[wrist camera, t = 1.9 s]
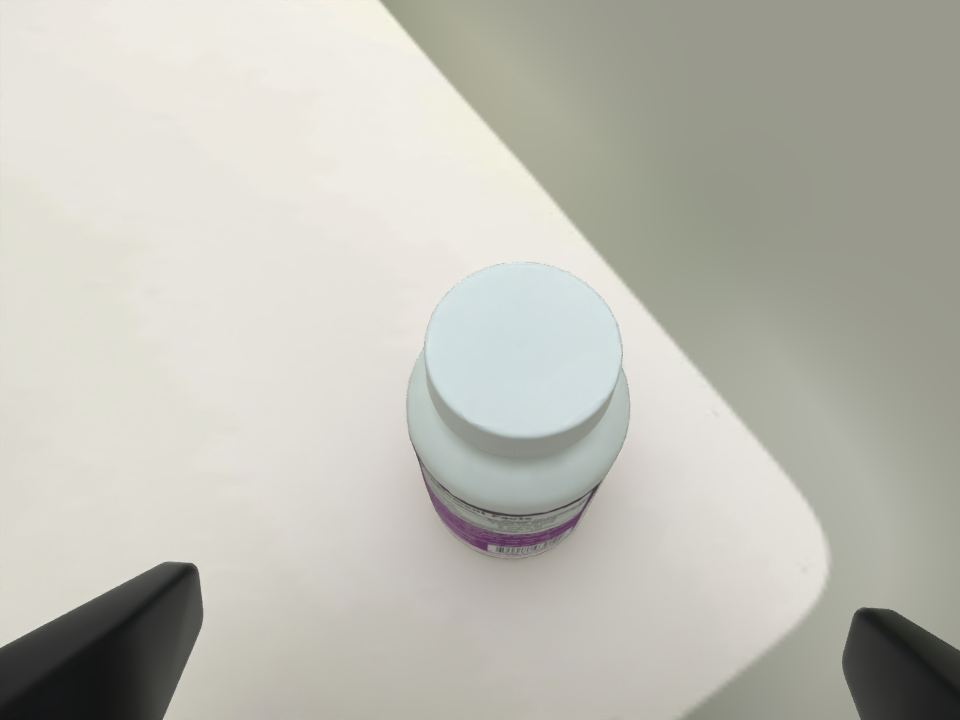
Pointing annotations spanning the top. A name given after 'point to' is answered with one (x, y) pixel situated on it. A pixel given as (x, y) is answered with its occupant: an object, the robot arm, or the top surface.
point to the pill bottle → (517, 406)
